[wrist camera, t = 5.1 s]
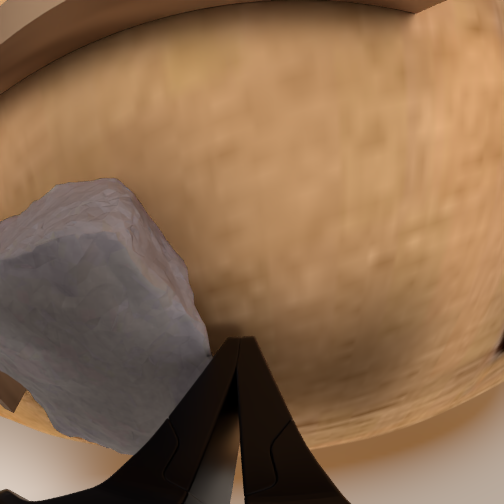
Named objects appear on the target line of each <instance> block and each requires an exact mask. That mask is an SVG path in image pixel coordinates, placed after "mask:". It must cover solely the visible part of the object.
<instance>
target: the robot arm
mask: <svg viewBox="0 0 504 504" xmlns="http://www.w3.org/2000/svg"><path fill="white" fill-rule="evenodd" d="M168 418H169V419H168ZM168 418H167V419H166V420H165V421H164V423H163V424H162V425H161V426H160V428H159V429H158V430H157V431H156V432H155V434H154V435H153V436H152V437H151V438H150V439H149V440H148V441H147V443H146V444H145V445H144V446H143V447H142V448H141V449H140V450H139V451H138V452H137V453H136V454H135V455H134V456H132V457H131V458H130V459H129V460H128V461H127V462H126V463H125V464H124V465H123V466H122V467H121V468H120V469H119V470H117V472H115V473H114V474H113V475H112V476H111V477H110V478H108V479H107V480H106V481H104V482H103V483H101V484H99V485H97V486H95V487H93V488H90V489H87V490H83V491H79V492H76V493H72V494H69V495H64V496H60V497H56V498H52V499H48V500H43V501H28V500H27V499H25V498H23V497H21V496H19V495H18V494H16V493H14V492H12V491H10V490H8V489H5V490H2V491H0V504H230V499H231V493H232V487H233V480H234V475H235V468H236V462H237V455H238V449H239V443H240V447H241V462H242V475H243V488H244V496H245V498H244V500H245V504H351V503H350V502H349V501H348V500H347V499H346V498H345V497H344V496H343V495H342V494H341V492H340V491H339V490H338V489H337V487H336V486H335V485H334V483H333V482H332V481H331V479H330V478H329V477H328V475H327V474H326V473H325V471H324V470H323V469H322V467H321V466H320V465H319V463H318V462H317V461H316V459H315V457H314V456H313V454H312V453H311V452H310V450H309V448H308V447H307V445H306V443H305V442H304V440H303V438H302V436H301V434H300V432H299V431H298V428H297V426H296V424H295V422H294V421H293V418H292V416H291V414H290V412H289V410H288V408H287V406H286V404H285V402H284V399H283V397H282V395H281V393H280V391H279V389H278V387H277V385H276V382H275V380H274V378H273V376H272V374H271V372H270V369H269V367H268V365H267V363H266V361H265V358H264V356H263V354H262V352H261V350H260V347H259V345H258V343H257V341H256V339H255V337H254V336H244V337H229V338H227V339H226V341H225V342H224V344H223V345H222V346H221V348H220V349H219V350H218V352H217V353H216V354H215V356H214V357H213V358H212V360H211V361H210V362H209V364H208V365H207V366H206V368H205V369H204V370H203V372H202V373H201V374H200V376H199V377H198V378H197V380H196V381H195V382H194V384H193V385H192V386H191V388H190V389H189V390H188V392H187V393H186V394H185V396H184V397H183V398H182V399H181V401H180V402H179V403H178V405H177V406H176V407H175V409H174V410H173V411H172V412H171V414H170V415H169V416H168Z"/></svg>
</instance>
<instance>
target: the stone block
mask: <svg viewBox="0 0 504 504" xmlns="http://www.w3.org/2000/svg"><path fill="white" fill-rule="evenodd" d="M212 358H213V357H212V353H211V350H210V345H209V340H208V334H207V330H206V326H205V324H204V322H203V321H202V319H201V317H200V315H199V313H198V311H197V309H196V307H195V305H194V294H193V291H192V289H191V287H190V284H189V279H188V271H187V267H186V265H185V263H184V260H183V259H182V258H181V257H180V256H179V255H178V254H177V253H176V252H175V251H174V250H173V248H172V247H171V245H170V244H169V243H168V241H167V240H166V239H165V237H164V235H163V234H162V232H161V231H160V229H159V228H158V227H157V225H156V224H155V223H154V221H153V220H152V219H151V218H150V216H149V215H148V214H147V212H146V211H145V209H144V208H143V206H142V204H141V203H140V202H139V200H138V199H137V198H136V196H135V195H134V193H132V192H131V191H130V190H129V189H128V188H127V187H126V186H125V185H124V184H123V183H122V182H120V181H119V180H117V179H116V178H100V179H97V180H94V181H84V182H68V183H65V184H59V185H55V186H54V188H52V189H51V190H50V191H49V192H48V193H46V194H45V195H44V196H43V197H42V198H40V199H39V200H36V201H33V202H32V204H31V205H30V206H29V207H28V208H27V209H26V210H25V211H24V212H22V213H21V214H20V215H15V216H12V217H9V218H7V219H5V220H3V221H1V222H0V371H2V372H4V373H6V374H8V375H9V376H10V377H12V378H13V379H14V380H16V381H18V382H19V383H20V384H21V385H23V386H24V387H25V388H26V389H27V390H28V391H29V392H30V393H31V394H32V396H33V398H34V399H35V400H36V401H37V402H38V403H39V404H40V405H41V406H42V407H43V408H44V410H45V411H46V413H47V415H48V417H49V419H50V421H51V423H52V425H53V427H54V428H55V429H56V430H57V431H59V432H60V433H62V434H64V435H67V436H69V437H80V438H83V439H85V440H87V441H89V442H94V443H97V444H99V445H101V446H104V447H106V448H111V449H113V450H115V451H117V452H119V453H121V454H129V455H135V454H136V453H137V452H138V451H139V450H140V449H141V448H142V447H143V446H144V445H145V444H146V443H147V441H148V440H149V439H150V438H151V437H152V436H153V435H154V434H155V432H156V431H157V430H158V429H159V428H160V426H161V425H162V424H163V423H164V421H165V420H166V419H167V418H168V416H169V415H170V414H171V412H172V411H173V410H174V409H175V407H176V406H177V405H178V403H179V402H180V401H181V399H182V398H183V397H184V396H185V394H186V393H187V392H188V390H189V389H190V388H191V386H192V385H193V384H194V382H195V381H196V380H197V378H198V377H199V376H200V374H201V373H202V372H203V370H204V369H205V368H206V366H207V365H208V364H209V362H210V361H211V360H212ZM168 419H169V418H168Z"/></svg>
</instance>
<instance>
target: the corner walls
mask: <svg viewBox="0 0 504 504" xmlns="http://www.w3.org/2000/svg"><path fill="white" fill-rule="evenodd" d="M255 1H269V0H7V1H6V2H4V3H3V4H2V5H1V6H0V94H2V93H3V92H5V91H6V90H7V89H9V88H10V87H12V86H13V85H15V84H16V83H18V82H19V81H21V80H22V79H24V78H25V77H27V76H29V75H30V74H32V73H34V72H35V71H37V70H39V69H40V68H42V67H44V66H46V65H47V64H49V63H51V62H53V61H55V60H57V59H58V58H60V57H62V56H64V55H66V54H68V53H70V52H72V51H74V50H76V49H79V48H81V47H83V46H85V45H87V44H89V43H92V42H94V41H96V40H99V39H101V38H104V37H106V36H109V35H111V34H114V33H117V32H119V31H122V30H125V29H128V28H131V27H134V26H137V25H140V24H143V23H146V22H149V21H153V20H156V19H160V18H163V17H167V16H171V15H175V14H179V13H184V12H188V11H193V10H198V9H203V8H209V7H214V6H221V5H228V4H235V3H244V2H255ZM329 1H343V2H353V3H361V4H369V5H376V6H382V7H388V8H393V9H398V10H403V11H407V12H412V13H419V12H421V11H423V10H425V9H427V8H430V7H432V6H434V5H436V4H439V3H441V2H444V1H446V0H329ZM25 391H26V388H25V387H24V386H23V385H21V384H20V383H19V382H18V381H16V380H14V379H13V378H12V377H10V376H9V375H8V374H6V373H4V372H2V371H0V404H1V405H2V406H3V407H4V408H5V409H7V410H9V411H11V412H13V413H14V412H15V410H16V408H17V406H18V404H19V402H20V400H21V398H22V397H23V395H24V393H25Z"/></svg>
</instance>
